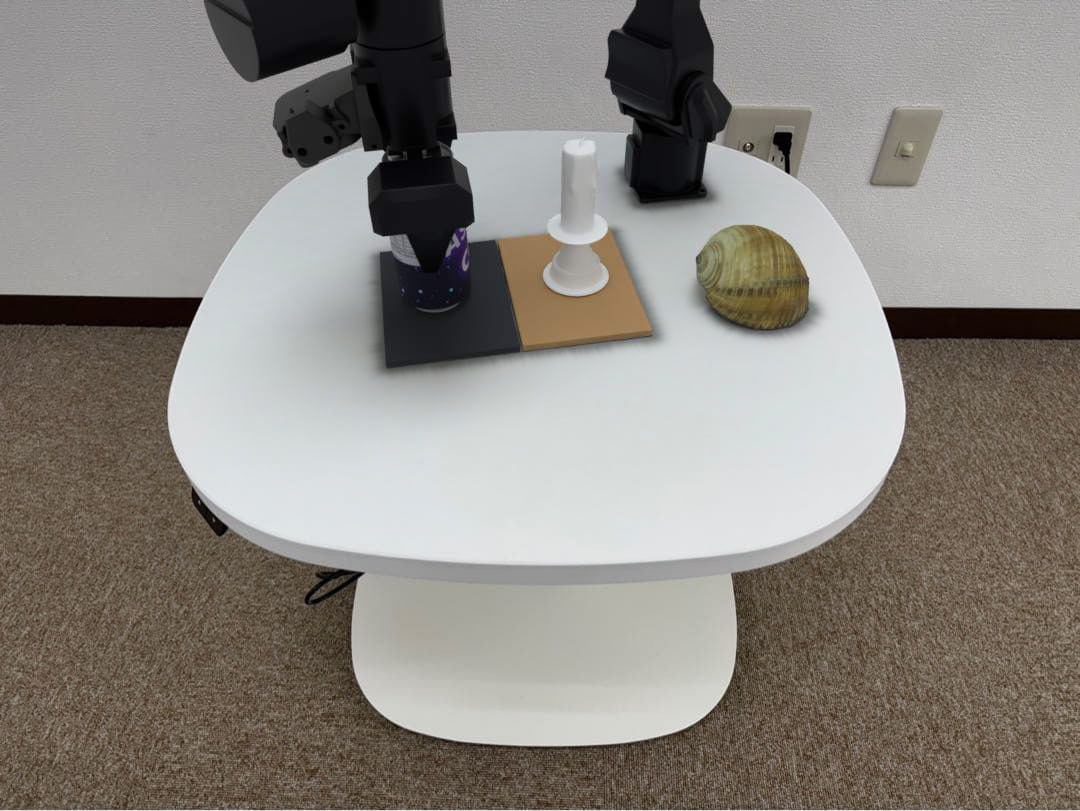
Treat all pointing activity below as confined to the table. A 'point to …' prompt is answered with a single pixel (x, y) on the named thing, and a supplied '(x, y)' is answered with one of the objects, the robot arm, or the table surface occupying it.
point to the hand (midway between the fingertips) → (427, 246)
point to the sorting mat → (487, 311)
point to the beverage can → (435, 287)
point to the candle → (577, 225)
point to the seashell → (753, 277)
